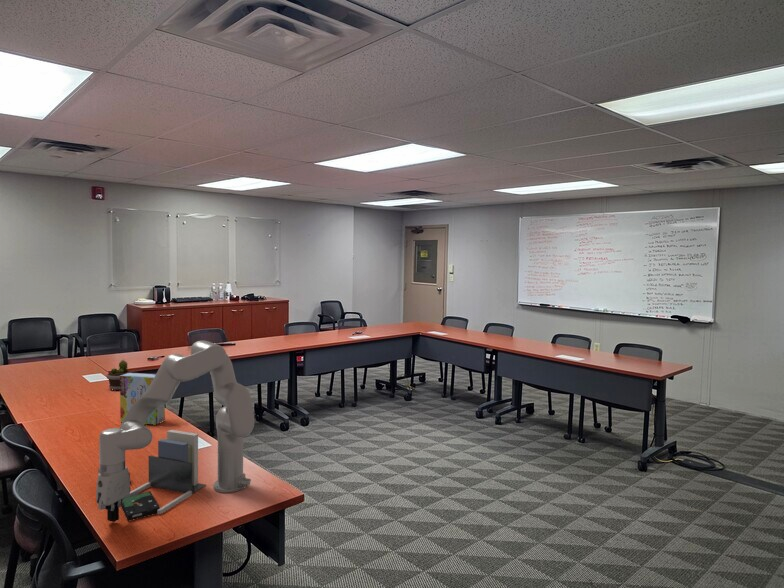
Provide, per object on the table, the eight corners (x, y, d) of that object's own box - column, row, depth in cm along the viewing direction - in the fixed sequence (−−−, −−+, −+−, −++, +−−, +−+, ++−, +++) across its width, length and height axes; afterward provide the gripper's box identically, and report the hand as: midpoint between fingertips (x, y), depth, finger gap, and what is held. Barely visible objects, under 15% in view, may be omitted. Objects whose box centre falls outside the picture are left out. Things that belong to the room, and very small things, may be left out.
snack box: (166, 421, 274) (166, 374, 272) (155, 426, 265) (155, 377, 264) (130, 418, 278) (129, 371, 276) (119, 422, 269) (118, 375, 267)
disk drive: (160, 514, 177) (150, 497, 188) (160, 506, 176) (150, 490, 188) (127, 523, 170) (119, 505, 182) (127, 515, 170) (119, 497, 182)
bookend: (206, 485, 198) (206, 455, 198) (191, 494, 190) (191, 463, 189) (164, 477, 204) (164, 448, 204) (148, 486, 196) (148, 455, 196)
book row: (198, 483, 199) (198, 433, 198) (184, 491, 192) (184, 440, 191) (171, 478, 203) (171, 429, 202) (157, 486, 196) (157, 435, 195)
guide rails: (191, 494, 190) (191, 490, 190) (160, 514, 175) (160, 510, 175) (148, 485, 197) (148, 482, 196) (113, 504, 181) (113, 500, 181)
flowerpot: (118, 393, 326) (118, 362, 325) (101, 390, 332) (101, 360, 330) (137, 388, 340) (137, 358, 339) (120, 385, 345) (120, 356, 344)
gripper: (102, 477, 159) (102, 533, 160) (139, 459, 173) (139, 511, 175) (83, 473, 162) (84, 529, 163) (122, 456, 176) (122, 508, 177)
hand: (113, 520), depth 169 cm, fingers closed
